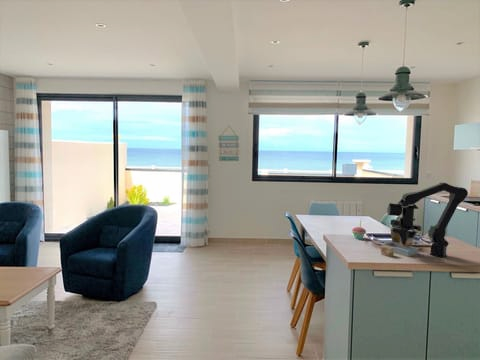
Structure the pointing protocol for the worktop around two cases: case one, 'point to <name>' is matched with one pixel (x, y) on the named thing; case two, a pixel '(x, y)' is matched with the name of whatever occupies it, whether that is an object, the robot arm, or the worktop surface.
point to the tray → (402, 249)
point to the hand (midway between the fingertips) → (406, 244)
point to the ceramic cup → (395, 236)
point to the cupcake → (359, 232)
